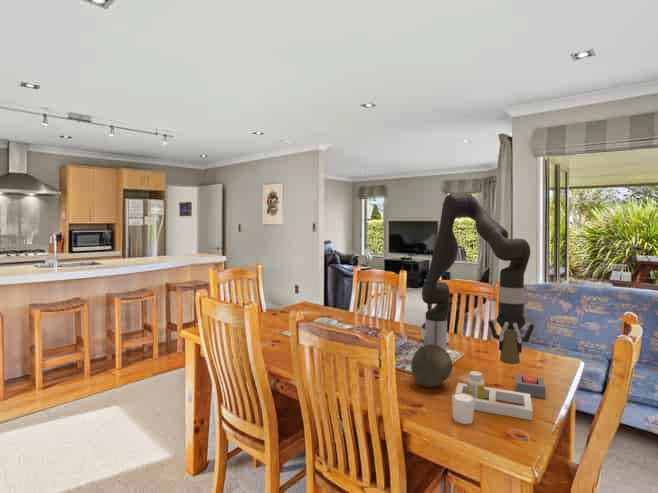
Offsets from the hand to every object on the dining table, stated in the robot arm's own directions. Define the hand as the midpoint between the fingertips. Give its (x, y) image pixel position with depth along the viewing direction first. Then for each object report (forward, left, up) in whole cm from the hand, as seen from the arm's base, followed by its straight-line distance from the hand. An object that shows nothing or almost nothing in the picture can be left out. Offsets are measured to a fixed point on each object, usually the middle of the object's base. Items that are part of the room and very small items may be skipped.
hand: (510, 352), depth 129 cm
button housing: (+7, +15, -18) cm, 25 cm away
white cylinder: (-13, -15, -18) cm, 27 cm away
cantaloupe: (-26, +6, -18) cm, 32 cm away
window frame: (-5, -1, -18) cm, 19 cm away
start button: (+7, +15, -16) cm, 23 cm away
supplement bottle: (-10, -1, -18) cm, 21 cm away
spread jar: (-32, +58, -18) cm, 69 cm away
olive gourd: (0, 0, -3) cm, 3 cm away
